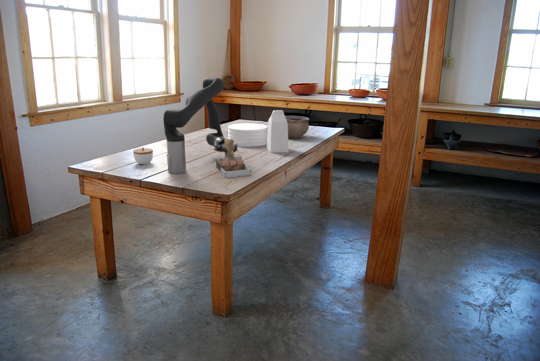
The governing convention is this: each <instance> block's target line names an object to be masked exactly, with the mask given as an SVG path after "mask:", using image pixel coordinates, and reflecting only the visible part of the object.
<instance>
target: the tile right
mask: <svg viewBox="0 0 540 361" xmlns="http://www.w3.org/2000/svg"><path fill="white" fill-rule="evenodd" d="M235 160H236V164H243V163H244V159H243V158H242V159H235Z"/></svg>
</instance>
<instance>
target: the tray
mask: <svg viewBox="0 0 540 361" xmlns="http://www.w3.org/2000/svg"><path fill="white" fill-rule="evenodd" d="M251 171H252V170H251V168H249V167H248V166H247V165H245V170H238V171H228V172H225V171H224V170H223V169H222V168H221V172H220V174H221V176H223V177H224V178H237V177H246V176H251V174H252V172H251Z"/></svg>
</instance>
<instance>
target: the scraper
mask: <svg viewBox="0 0 540 361" xmlns="http://www.w3.org/2000/svg"><path fill="white" fill-rule="evenodd" d="M225 148H226V149H227V153H225V152H224V157H219V161H220V164H221V161H222V160H235V159H242V160H243V158H242V157H243V156H241V155H238V156H235V152H234V140H232V139H228V138H225Z"/></svg>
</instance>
